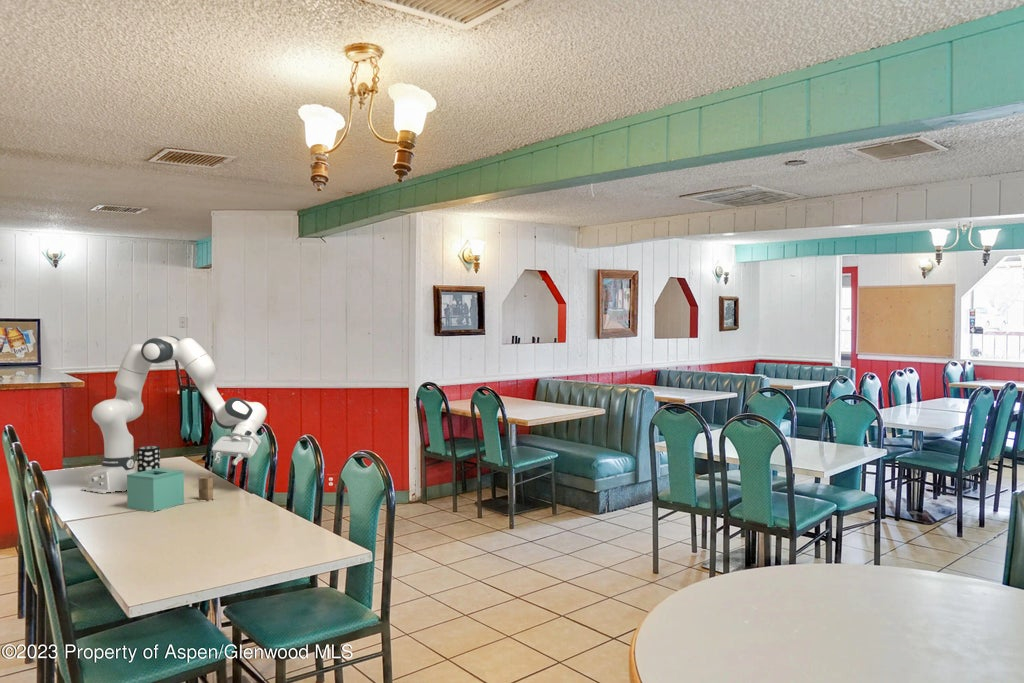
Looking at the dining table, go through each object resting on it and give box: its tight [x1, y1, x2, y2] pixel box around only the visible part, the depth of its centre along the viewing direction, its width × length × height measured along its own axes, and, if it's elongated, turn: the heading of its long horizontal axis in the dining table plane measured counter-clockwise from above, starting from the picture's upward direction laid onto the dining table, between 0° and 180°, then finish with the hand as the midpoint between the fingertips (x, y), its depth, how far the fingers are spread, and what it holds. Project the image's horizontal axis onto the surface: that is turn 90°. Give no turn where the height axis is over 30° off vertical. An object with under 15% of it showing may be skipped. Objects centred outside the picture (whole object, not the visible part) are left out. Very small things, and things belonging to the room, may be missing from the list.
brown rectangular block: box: [198, 476, 214, 502], centre depth 293 cm, size 5×2×9 cm, turn 66°
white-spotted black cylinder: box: [136, 445, 161, 473], centre depth 300 cm, size 8×8×20 cm
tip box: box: [126, 467, 185, 512], centre depth 283 cm, size 14×14×13 cm
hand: (224, 463), depth 302 cm, fingers open, 8 cm apart
